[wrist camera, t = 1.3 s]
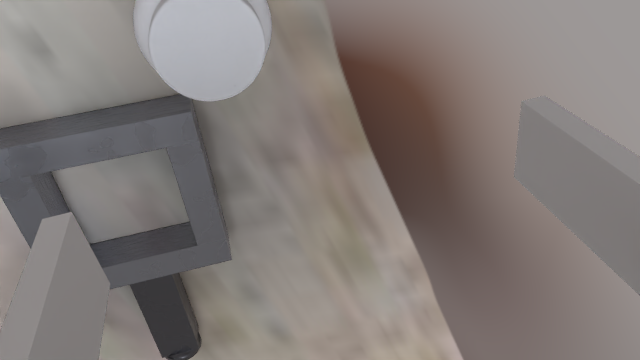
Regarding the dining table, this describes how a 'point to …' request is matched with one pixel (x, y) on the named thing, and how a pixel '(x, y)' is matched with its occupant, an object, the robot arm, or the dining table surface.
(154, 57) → the pill bottle
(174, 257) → the low gray tray
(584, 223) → the robot arm
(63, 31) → the dining table surface
